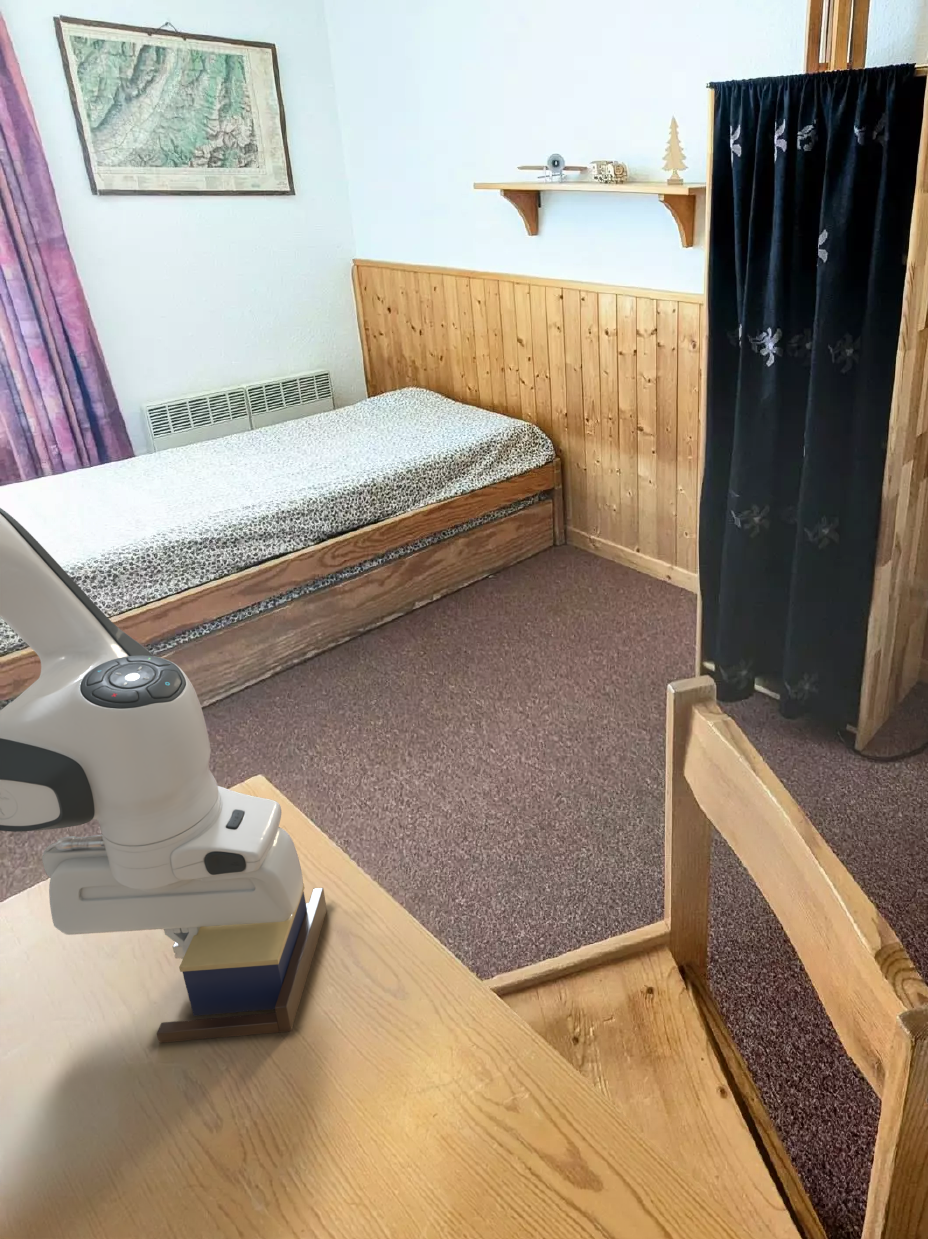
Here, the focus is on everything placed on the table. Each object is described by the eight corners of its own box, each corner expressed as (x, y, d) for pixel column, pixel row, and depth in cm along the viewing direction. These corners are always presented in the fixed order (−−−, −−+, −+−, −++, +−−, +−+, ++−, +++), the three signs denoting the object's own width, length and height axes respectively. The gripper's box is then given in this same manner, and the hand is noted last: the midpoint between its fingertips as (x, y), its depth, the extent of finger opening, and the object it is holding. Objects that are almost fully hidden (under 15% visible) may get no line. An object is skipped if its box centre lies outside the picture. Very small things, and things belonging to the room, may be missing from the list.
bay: (158, 1043, 70) (151, 1018, 69) (214, 918, 82) (208, 895, 81) (291, 1031, 72) (286, 1006, 70) (327, 909, 83) (323, 887, 82)
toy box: (191, 1017, 73) (178, 967, 71) (225, 936, 80) (215, 889, 78) (287, 1009, 73) (277, 959, 71) (312, 930, 81) (303, 883, 79)
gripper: (15, 869, 67) (53, 991, 72) (277, 855, 69) (296, 975, 73) (58, 812, 73) (91, 929, 77) (298, 801, 75) (315, 915, 79)
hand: (193, 951), depth 75 cm, fingers closed, pressing on toy box
